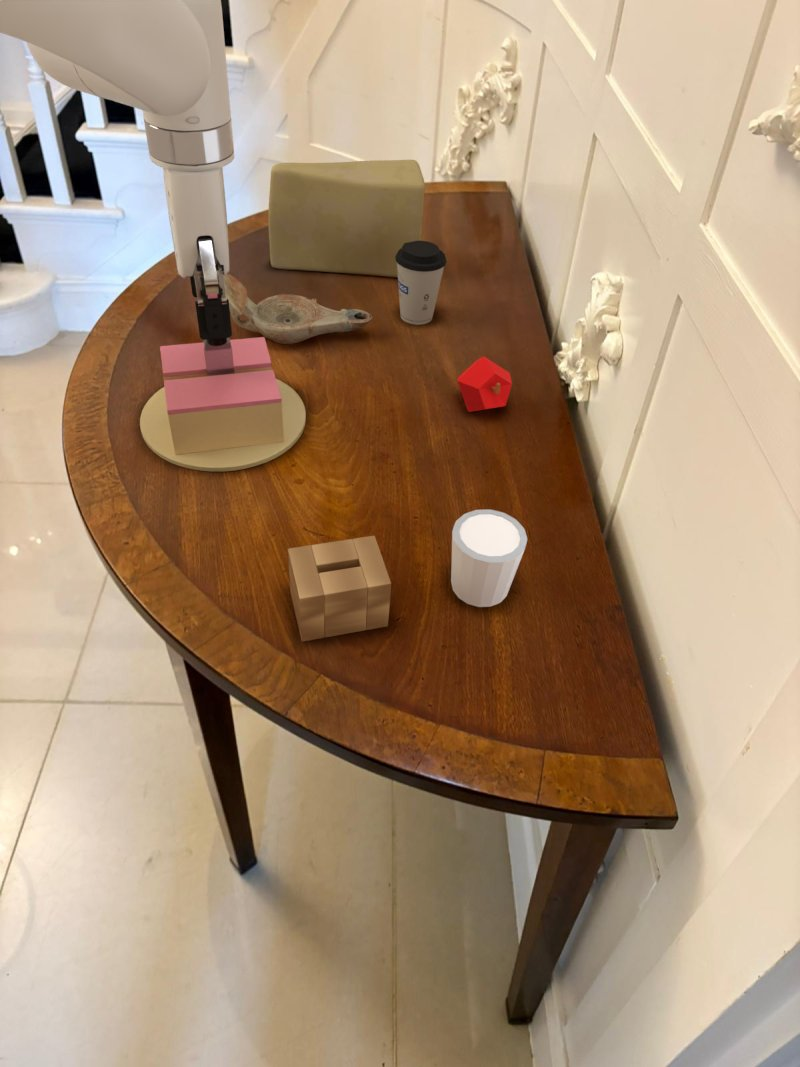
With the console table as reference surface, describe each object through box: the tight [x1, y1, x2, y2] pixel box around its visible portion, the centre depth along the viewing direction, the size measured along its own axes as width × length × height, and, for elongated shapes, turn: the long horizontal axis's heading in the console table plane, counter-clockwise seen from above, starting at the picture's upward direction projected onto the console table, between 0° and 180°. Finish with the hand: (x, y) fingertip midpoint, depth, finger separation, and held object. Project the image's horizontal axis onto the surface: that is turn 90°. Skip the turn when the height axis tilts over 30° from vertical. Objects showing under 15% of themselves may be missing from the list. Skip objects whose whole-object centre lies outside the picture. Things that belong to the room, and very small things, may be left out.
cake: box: [139, 336, 307, 473], centre depth 90 cm, size 19×19×7 cm
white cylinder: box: [450, 509, 528, 608], centre depth 74 cm, size 7×7×7 cm
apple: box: [456, 356, 513, 413], centre depth 95 cm, size 7×7×8 cm
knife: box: [198, 268, 235, 376], centre depth 86 cm, size 3×2×18 cm
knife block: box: [287, 535, 392, 643], centre depth 71 cm, size 8×6×6 cm
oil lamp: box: [223, 272, 373, 345], centre depth 103 cm, size 9×21×10 cm, turn 94°
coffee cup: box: [395, 240, 447, 326], centre depth 108 cm, size 7×7×10 cm
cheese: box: [267, 159, 426, 279], centre depth 115 cm, size 22×10×15 cm, turn 96°
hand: (211, 314), depth 83 cm, fingers open, 8 cm apart
